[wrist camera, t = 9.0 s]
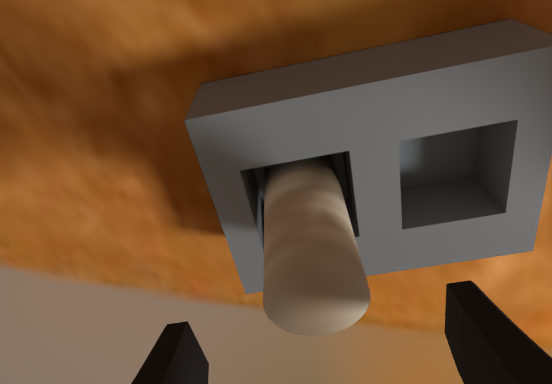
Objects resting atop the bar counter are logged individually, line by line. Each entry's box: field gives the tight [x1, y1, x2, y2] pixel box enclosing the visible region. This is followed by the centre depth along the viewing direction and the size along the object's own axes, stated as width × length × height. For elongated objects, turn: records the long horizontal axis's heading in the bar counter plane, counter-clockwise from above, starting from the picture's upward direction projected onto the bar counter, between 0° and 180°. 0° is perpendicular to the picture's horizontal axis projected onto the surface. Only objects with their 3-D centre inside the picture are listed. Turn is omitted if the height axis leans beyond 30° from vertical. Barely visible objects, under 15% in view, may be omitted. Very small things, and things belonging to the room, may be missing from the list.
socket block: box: [184, 19, 552, 294], centre depth 18 cm, size 13×9×4 cm
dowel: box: [263, 154, 370, 336], centre depth 15 cm, size 3×3×8 cm
